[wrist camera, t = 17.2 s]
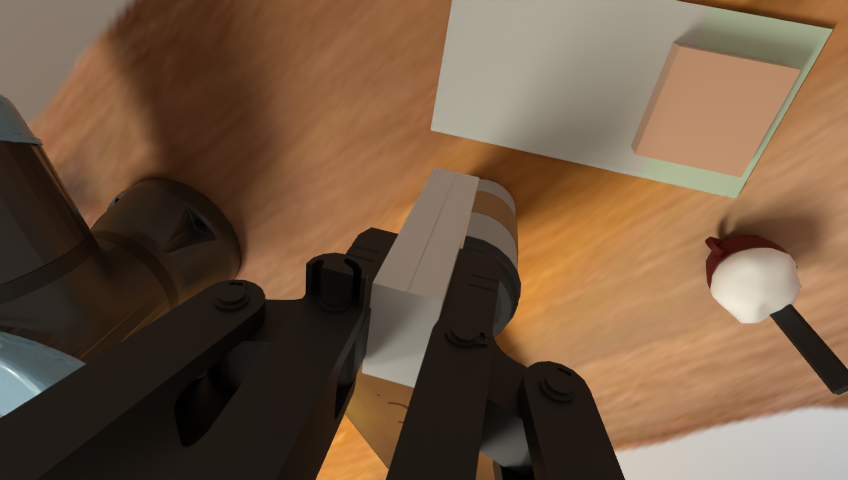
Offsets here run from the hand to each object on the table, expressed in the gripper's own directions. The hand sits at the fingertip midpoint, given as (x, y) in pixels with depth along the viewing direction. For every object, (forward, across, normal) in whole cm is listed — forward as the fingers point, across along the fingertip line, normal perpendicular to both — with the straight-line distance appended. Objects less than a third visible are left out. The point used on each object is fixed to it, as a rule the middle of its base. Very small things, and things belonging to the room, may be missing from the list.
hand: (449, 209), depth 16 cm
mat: (+26, +8, 0) cm, 27 cm away
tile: (+25, +12, 0) cm, 27 cm away
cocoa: (+27, +24, -12) cm, 38 cm away
